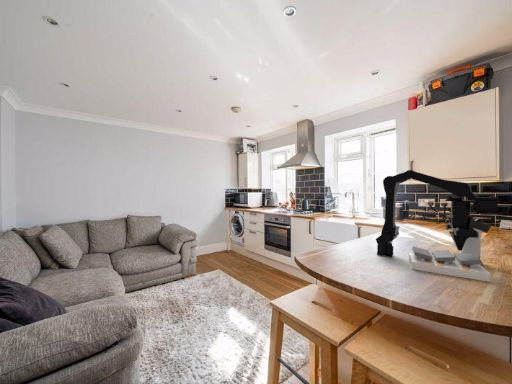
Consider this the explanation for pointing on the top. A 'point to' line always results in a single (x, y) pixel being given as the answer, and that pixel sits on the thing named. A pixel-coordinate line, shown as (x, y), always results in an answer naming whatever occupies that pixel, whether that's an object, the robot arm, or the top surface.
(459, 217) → the robot arm
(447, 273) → the switch unit
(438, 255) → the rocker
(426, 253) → the rocker
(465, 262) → the plate
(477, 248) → the travel mug
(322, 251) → the top surface
